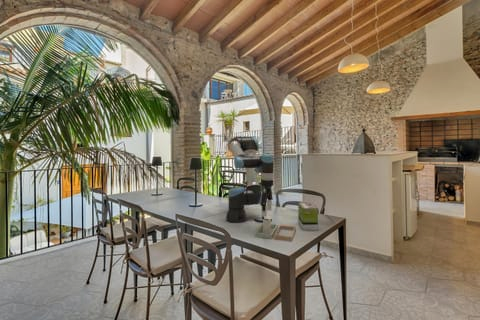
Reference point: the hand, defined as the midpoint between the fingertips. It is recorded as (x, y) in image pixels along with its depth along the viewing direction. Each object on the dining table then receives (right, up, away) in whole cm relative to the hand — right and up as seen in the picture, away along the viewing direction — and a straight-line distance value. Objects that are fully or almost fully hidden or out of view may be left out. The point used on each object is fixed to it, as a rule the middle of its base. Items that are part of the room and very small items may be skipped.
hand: (266, 213), depth 152 cm
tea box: (+29, -12, +11) cm, 33 cm away
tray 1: (0, -12, 0) cm, 12 cm away
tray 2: (+11, -12, -4) cm, 17 cm away
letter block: (0, -12, 0) cm, 12 cm away
